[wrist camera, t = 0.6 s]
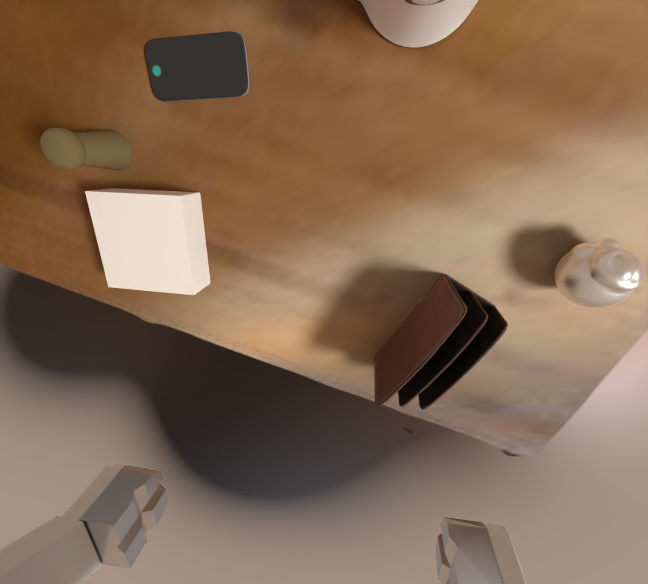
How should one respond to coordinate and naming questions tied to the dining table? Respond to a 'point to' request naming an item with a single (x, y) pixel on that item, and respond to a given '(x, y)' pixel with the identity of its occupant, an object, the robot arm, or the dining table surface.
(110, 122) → the dining table surface
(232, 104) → the dining table surface
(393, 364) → the letter holder
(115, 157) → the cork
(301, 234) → the dining table surface
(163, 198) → the white block
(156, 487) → the robot arm
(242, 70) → the smartphone
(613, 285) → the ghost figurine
